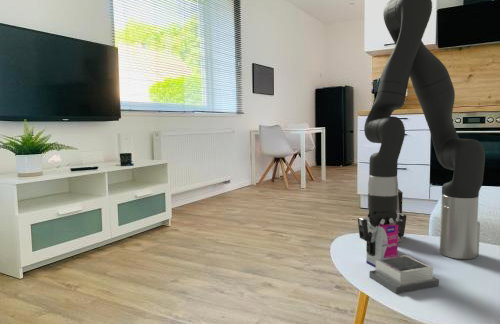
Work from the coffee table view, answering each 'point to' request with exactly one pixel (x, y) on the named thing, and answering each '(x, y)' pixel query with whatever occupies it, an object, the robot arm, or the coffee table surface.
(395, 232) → the supplement box
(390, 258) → the square tray
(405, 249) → the coffee table surface
